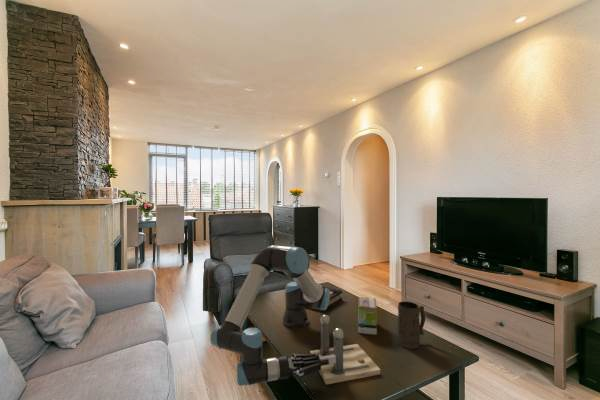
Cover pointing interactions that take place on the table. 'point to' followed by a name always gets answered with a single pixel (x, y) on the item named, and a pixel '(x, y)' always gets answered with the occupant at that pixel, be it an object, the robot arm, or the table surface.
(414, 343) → the beer stein
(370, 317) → the tea box
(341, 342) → the grey rounded post
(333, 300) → the decorative book
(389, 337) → the table surface
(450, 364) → the table surface
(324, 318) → the grey lever
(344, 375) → the switch panel
